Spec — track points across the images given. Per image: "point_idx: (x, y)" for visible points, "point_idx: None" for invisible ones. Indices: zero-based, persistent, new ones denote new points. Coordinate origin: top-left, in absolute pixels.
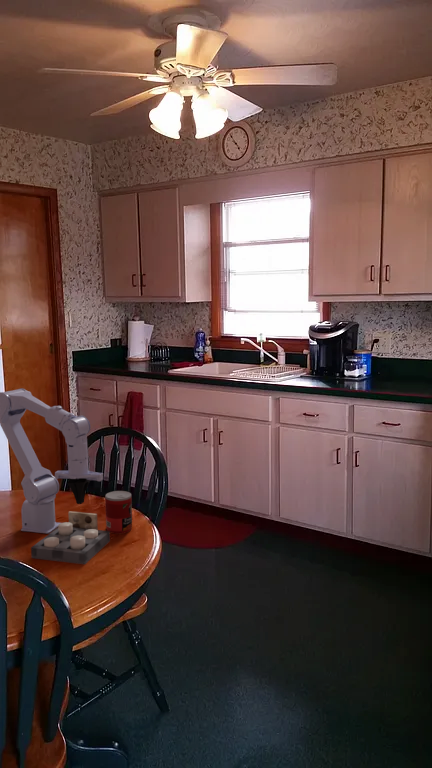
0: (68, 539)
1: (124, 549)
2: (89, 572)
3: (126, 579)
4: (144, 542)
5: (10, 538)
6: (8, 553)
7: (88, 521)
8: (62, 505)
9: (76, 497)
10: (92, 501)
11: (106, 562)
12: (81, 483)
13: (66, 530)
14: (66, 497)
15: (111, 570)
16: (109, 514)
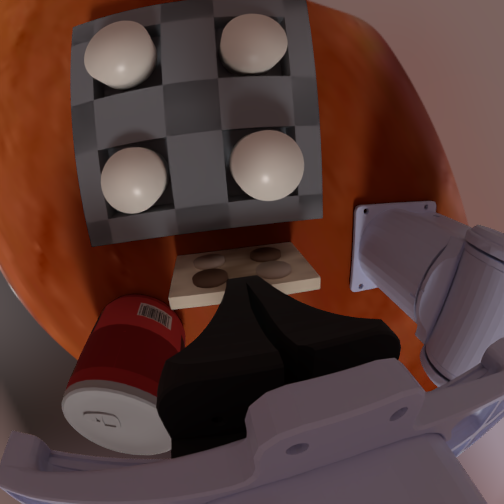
0: (203, 98)
1: (31, 194)
2: (57, 14)
3: None
4: (19, 265)
5: (433, 144)
6: (380, 40)
7: (207, 272)
8: None
9: (261, 290)
10: None
11: (35, 86)
12: (172, 376)
13: (243, 138)
14: None
15: (9, 58)
16: (134, 335)
